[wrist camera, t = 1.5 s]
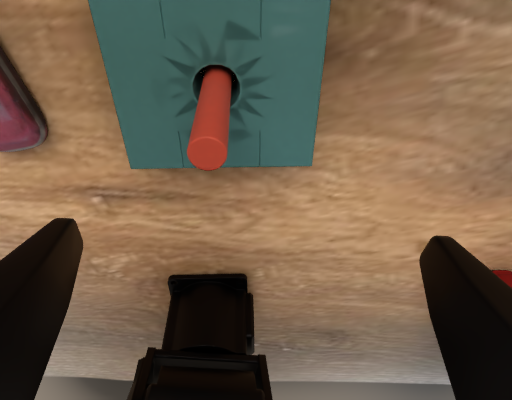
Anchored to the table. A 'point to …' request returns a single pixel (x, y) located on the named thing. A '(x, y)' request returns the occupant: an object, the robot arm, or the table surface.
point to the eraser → (18, 112)
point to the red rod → (211, 120)
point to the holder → (215, 53)
